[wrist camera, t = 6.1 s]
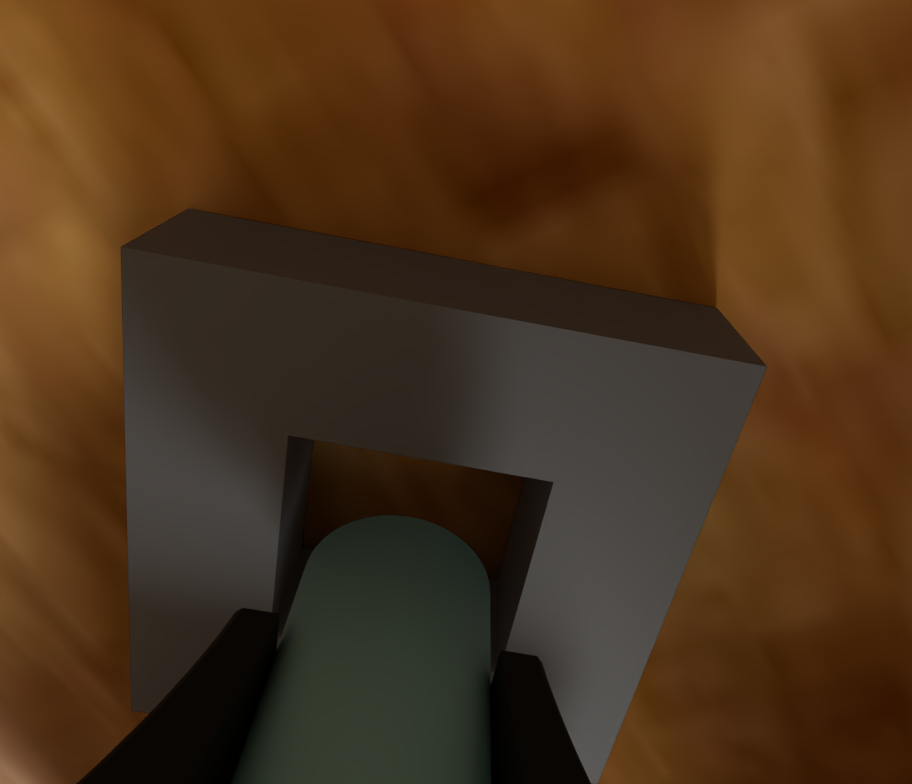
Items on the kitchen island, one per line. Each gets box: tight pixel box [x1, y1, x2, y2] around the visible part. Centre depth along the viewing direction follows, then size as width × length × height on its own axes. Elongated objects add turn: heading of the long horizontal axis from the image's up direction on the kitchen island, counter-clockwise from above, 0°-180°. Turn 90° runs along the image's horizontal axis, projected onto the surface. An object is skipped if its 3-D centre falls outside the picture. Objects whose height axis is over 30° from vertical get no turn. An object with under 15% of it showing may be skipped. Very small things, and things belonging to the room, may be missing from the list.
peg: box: [231, 515, 491, 784], centre depth 11 cm, size 4×4×7 cm
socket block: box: [121, 209, 767, 784], centre depth 16 cm, size 11×11×3 cm
